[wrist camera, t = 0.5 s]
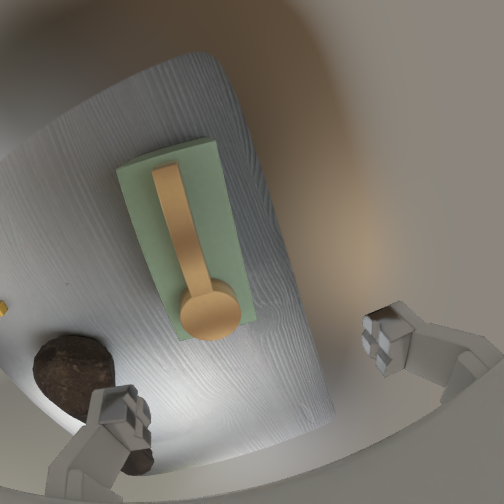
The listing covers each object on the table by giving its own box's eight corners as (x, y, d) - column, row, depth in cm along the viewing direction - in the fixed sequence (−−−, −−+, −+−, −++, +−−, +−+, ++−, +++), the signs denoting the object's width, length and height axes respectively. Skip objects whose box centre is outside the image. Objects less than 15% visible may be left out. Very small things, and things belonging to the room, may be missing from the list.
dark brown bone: (61, 315, 31) (127, 420, 46) (11, 370, 23) (102, 461, 37) (123, 340, 29) (177, 441, 43) (70, 413, 20) (153, 488, 35)
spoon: (133, 172, 18) (127, 178, 16) (200, 153, 19) (202, 156, 17) (189, 331, 24) (191, 350, 22) (242, 317, 25) (248, 335, 23)
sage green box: (134, 157, 25) (115, 169, 18) (207, 136, 26) (215, 140, 19) (178, 293, 32) (179, 341, 24) (240, 276, 32) (257, 320, 25)
